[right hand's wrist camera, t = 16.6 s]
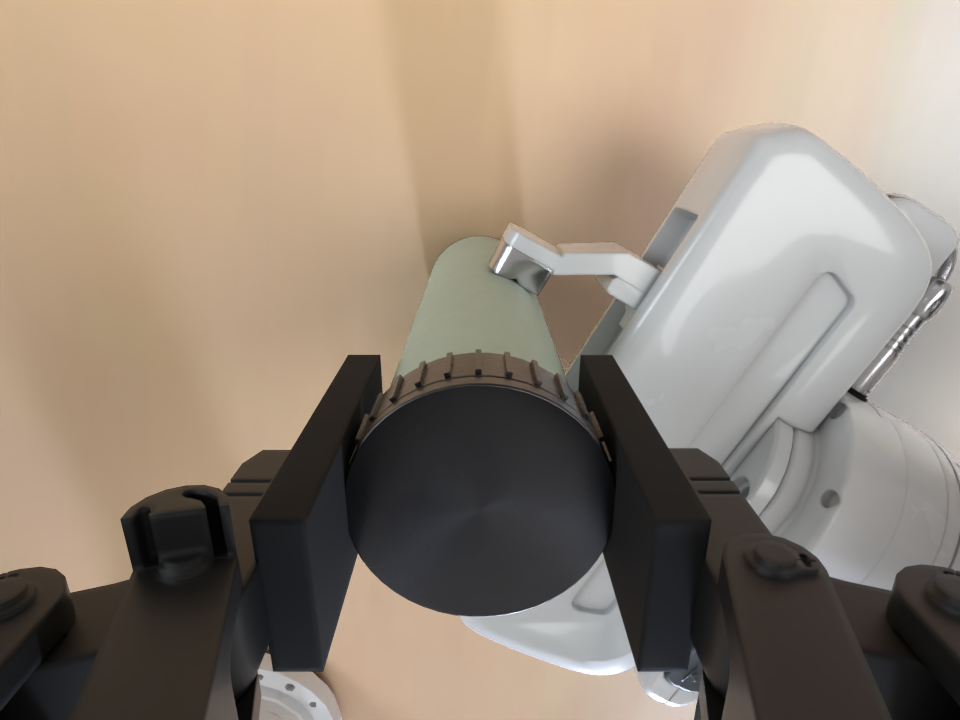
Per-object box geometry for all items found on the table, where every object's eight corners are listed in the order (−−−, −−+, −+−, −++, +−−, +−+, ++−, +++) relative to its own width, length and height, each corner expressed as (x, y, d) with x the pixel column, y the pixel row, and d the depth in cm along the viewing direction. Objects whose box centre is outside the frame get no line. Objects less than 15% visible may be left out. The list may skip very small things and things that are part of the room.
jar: (534, 326, 27) (605, 572, 12) (438, 339, 27) (386, 597, 12) (523, 229, 26) (589, 366, 10) (422, 243, 26) (338, 398, 10)
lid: (493, 293, 11) (496, 318, 9) (654, 475, 12) (677, 521, 11) (303, 454, 12) (279, 498, 10) (469, 604, 13) (467, 661, 12)
